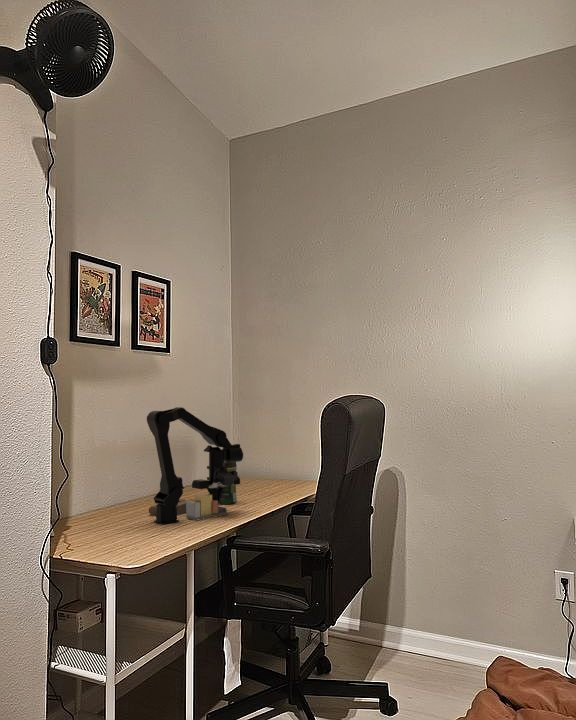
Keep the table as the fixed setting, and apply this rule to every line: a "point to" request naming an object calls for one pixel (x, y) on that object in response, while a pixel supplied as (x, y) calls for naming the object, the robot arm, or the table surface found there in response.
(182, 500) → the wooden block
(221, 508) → the vise
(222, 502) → the coffee jar
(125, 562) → the table surface
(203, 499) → the block
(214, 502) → the block
